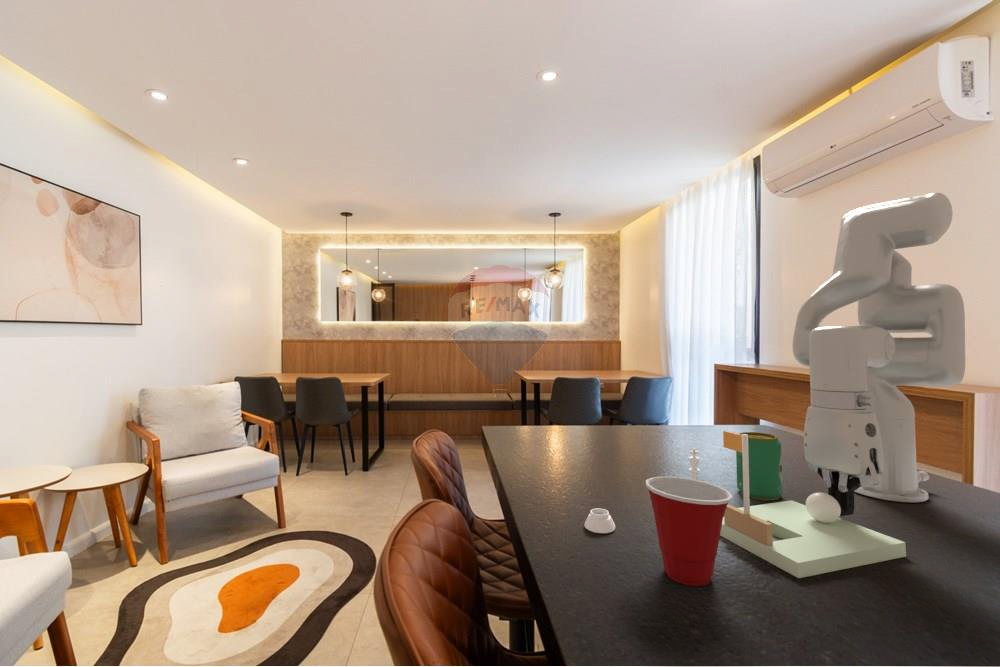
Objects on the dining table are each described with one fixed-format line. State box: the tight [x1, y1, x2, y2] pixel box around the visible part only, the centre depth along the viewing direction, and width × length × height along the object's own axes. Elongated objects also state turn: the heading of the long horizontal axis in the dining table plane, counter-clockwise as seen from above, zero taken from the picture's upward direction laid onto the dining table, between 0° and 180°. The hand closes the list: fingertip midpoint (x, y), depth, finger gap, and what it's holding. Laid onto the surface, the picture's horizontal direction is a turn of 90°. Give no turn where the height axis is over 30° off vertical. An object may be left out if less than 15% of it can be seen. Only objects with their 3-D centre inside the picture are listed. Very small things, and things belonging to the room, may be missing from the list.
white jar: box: [583, 507, 616, 535], centre depth 74 cm, size 5×3×5 cm
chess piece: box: [688, 447, 701, 481], centre depth 88 cm, size 5×5×10 cm
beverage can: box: [735, 431, 783, 501], centre depth 90 cm, size 8×8×12 cm
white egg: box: [805, 491, 841, 523], centre depth 71 cm, size 5×5×5 cm
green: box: [720, 430, 907, 579], centre depth 70 cm, size 20×18×17 cm
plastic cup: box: [645, 476, 734, 587], centre depth 59 cm, size 11×11×12 cm
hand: (841, 513), depth 72 cm, fingers closed
